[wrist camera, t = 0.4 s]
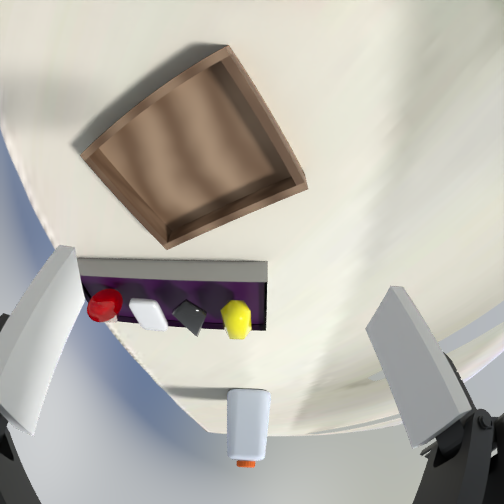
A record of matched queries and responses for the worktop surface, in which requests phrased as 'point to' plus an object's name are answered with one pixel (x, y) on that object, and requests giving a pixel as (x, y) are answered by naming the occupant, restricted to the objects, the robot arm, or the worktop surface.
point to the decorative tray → (177, 293)
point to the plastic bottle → (247, 425)
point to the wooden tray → (197, 153)
